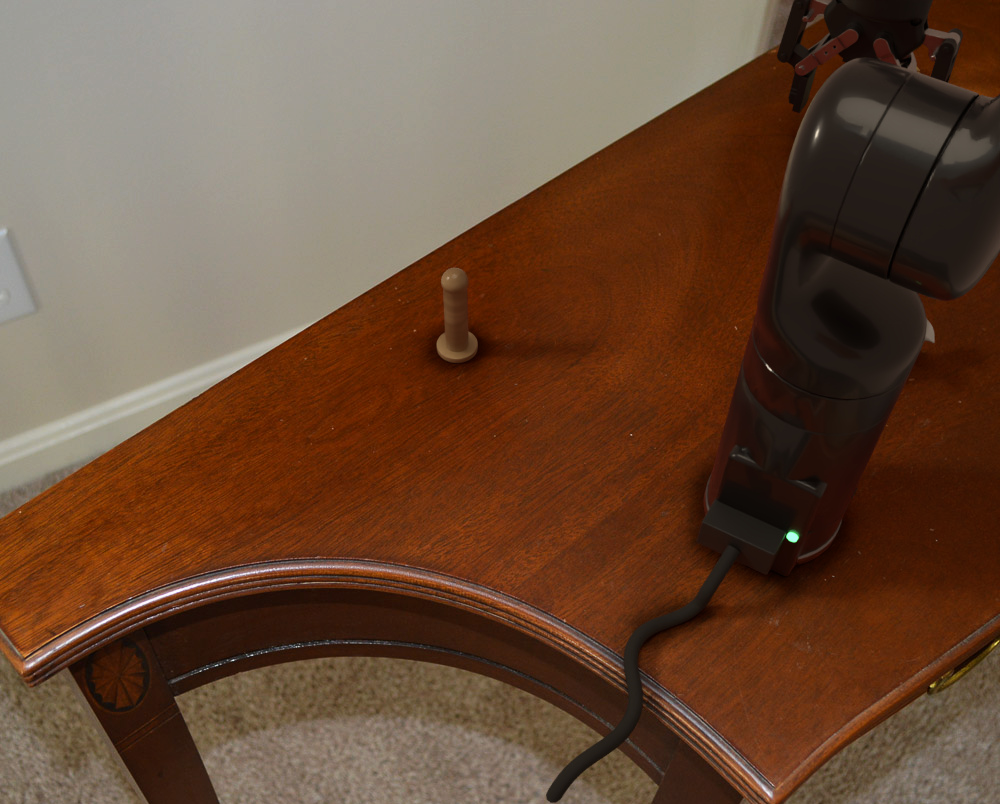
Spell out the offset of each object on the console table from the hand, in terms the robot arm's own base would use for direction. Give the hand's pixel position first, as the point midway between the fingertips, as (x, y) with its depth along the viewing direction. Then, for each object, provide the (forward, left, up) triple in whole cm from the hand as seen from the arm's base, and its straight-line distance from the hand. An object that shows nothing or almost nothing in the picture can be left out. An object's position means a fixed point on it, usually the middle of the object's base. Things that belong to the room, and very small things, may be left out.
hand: (844, 123), depth 97 cm
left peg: (-39, +17, -3) cm, 42 cm away
